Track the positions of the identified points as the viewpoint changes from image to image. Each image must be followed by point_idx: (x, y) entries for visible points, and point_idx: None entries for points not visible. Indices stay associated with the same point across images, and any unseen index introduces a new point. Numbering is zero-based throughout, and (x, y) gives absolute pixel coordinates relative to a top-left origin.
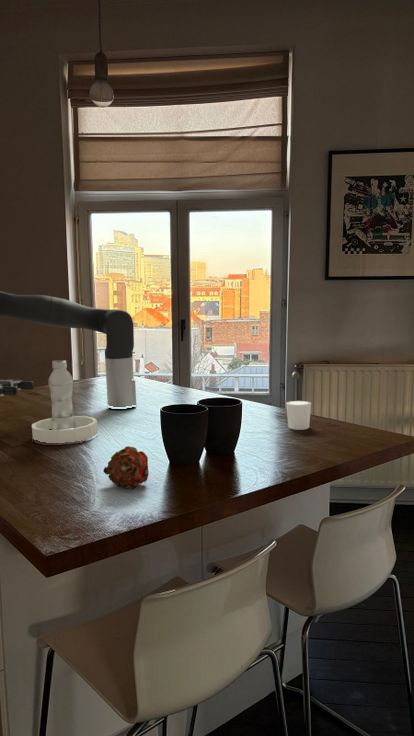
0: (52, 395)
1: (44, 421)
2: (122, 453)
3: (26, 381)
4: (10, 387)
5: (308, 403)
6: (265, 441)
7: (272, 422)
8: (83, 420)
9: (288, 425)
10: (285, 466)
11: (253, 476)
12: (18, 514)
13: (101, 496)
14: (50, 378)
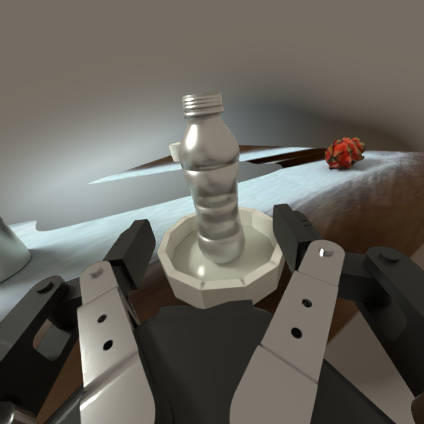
0: (234, 186)
1: (200, 281)
2: (353, 140)
3: (123, 239)
4: (295, 217)
5: (179, 142)
6: None
7: (164, 166)
8: (173, 237)
9: (179, 160)
10: (260, 150)
11: (282, 151)
12: None
13: (373, 167)
14: (232, 143)
